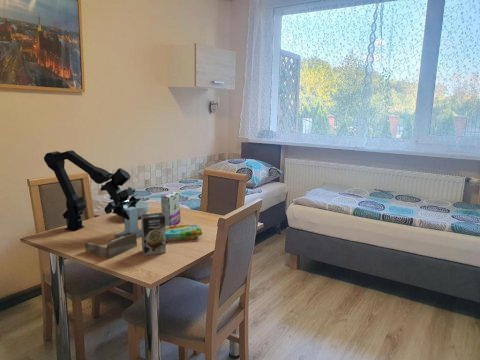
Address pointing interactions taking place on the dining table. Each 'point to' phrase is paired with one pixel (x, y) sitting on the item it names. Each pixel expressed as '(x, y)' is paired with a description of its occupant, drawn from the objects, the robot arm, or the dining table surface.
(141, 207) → the cereal bowl
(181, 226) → the puzzle game
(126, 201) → the robot arm
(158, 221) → the coffee box
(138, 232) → the rubber mat
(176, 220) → the candy bar box
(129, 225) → the tall block
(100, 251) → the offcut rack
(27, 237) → the dining table surface
